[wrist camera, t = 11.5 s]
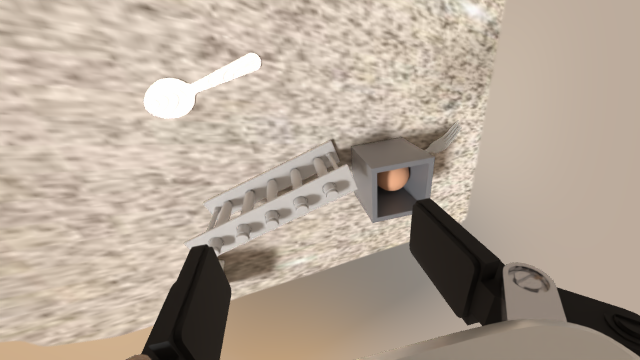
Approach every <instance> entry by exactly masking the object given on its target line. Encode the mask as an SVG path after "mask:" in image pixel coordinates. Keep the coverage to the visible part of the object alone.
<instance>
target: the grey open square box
mask: <svg viewBox="0 0 640 360" xmlns="http://www.w3.org/2000/svg"><path fill="white" fill-rule="evenodd" d="M351 153H352V170H353V179H354V181H355V184H356V186H357V188H358V189H357V190H355V191H354V193H355V195H356V197H357V198H358V200H359V202H360V203H361V205H362V206H363V208H364V210H365V211H366V213H367V215H368V216H369V218H370V219H371V221H372V223H374V222H379V221H384V220H388V219H393V218H398V217H403V216H407V215H412V208H413V205H414V204H415V203H416V201H417V200H421V199H426V198H430V194H431V186H432V177H433V169H434V161H435V157H434V156H432V155H431V154H429V153H427V152H426V151H424V150H422V149H421V148H419V147H417V146H416V145H414V144H412V143H410V142H409V141H407V140H405V139H404V138H402V137H401V138H395V139H390V140H384V141H378V142H373V143H367V144H361V145H356V146H351ZM406 167H408V169H409V178H408V181H407V183H406V184H405V185H404V186H403V187H402V188H400V189H398V190H395V191H387V190H384V189H382V188H381V187H379V186H378V185H377V173H380V172H385V171H390V170H395V169H401V168H406Z"/></svg>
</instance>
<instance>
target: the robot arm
mask: <svg viewBox="0 0 640 360" xmlns="http://www.w3.org/2000/svg"><path fill="white" fill-rule="evenodd" d="M410 251H411V253H412V254H413V256H414V257H415V259H416V260H417V261H418V263H419V264H420V266H421V267H422V268H423V270H424V271H425V273H426V274H427V275H428V277H429V278H430V279H431V281H432V282H433V284H434V285H435V286H436V288H437V289H438V291H439V292H440V293H441V295H442V296H443V297H444V299H445V300H446V302H447V303H448V305H449V306H450V307H451V309H452V310H453V311H454V313H455V314H456V315H457V316H458V317H459V318H462V319H463V320H464V321H465V323H466V324H467V325H471V324H474V323H478V322H480V324H481V325H482V326H481V327H477V328H473V329H469V330H465V331H461V332H456V333H453V334H449V335H446V336H441V337H438V338H434V339H430V340H427V341H422V342H419V343H415V344H411V345H407V346H404V347H400V348H396V349H392V350H389V351H385V352H382V353H378V354H374V355H370V356H367V357H363V358H360V359H356V360H640V316H639V315H638V314H636V313H633V312H631V311H628V310H626V309H623V308H620V307H617V306H614V305H610V304H607V303H604V302H601V301H598V300H595V299H592V298H589V297H585V296H582V295H579V294H576V293H573V292H570V291H567V290H563V289H560V288H557V287H556V285H555V283H554V281H553V280H552V279H551V278H550V277H549V276H548V275H547V274H546V273H544V272H543V271H541V270H539V269H538V268H535V267H534V266H531V265H528V264H524V263H509V264H506V265H504V264H503V263H502V262H501V261H500V259H499V258H498V257H496V256H495V255H494V254H493V253H492V252H491V251H490V250H488V249H487V248H486V247H485V246H484V245H483V244H482V243H480V242H479V241H478V240H477V239H476V238H475V237H474V236H472V235H471V234H470V233H469V232H468V231H467V230H466V229H464V228H463V227H462V226H461V225H460V224H459V223H458V222H457V221H455V220H454V219H453V218H452V217H451V216H450V215H449V214H447V213H446V212H445V211H444V210H443V209H442V208H441V207H439V206H438V205H437V204H436V203H435V202H434V201H433V200H431V199H430V198H426V199H421V200H417V201H416V203H415V204H414V205H413V208H412V220H411V233H410ZM230 299H231V287H230V285H229V282H228V280H227V278H226V276H225V273H224V271H223V269H222V267H221V264H220V262H219V260H218V258H217V255H216V253H215V251H214V249H213V247H209V246H208V245H207V244H204V245H199V246H194V247H192V248H191V249H190V252H189V254H188V256H187V258H186V261H185V263H184V265H183V268H182V270H181V272H180V274H179V277H178V279H177V281H176V282H175V283H174V284H173V285H172V287H171V289H170V291H169V293H168V296H167V298H166V300H165V302H164V304H163V307H162V309H161V311H160V313H159V316H158V318H157V320H156V322H155V324H154V327H153V329H152V331H151V333H150V335H149V338H148V340H147V342H146V344H145V347H144V349H143V351H142V353H141V354H140V355H134V356H132V357H130V358H128V359H126V360H220V354H221V349H222V343H223V337H224V332H225V327H226V321H227V315H228V309H229V304H230Z"/></svg>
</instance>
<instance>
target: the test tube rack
mask: <svg viewBox="0 0 640 360" xmlns="http://www.w3.org/2000/svg"><path fill="white" fill-rule="evenodd" d="M339 162H340V160H339V157H338V155H337V153H336V151H335V148H334V146H333V144H332V142H331V140H329V141H327V142H325V143H323V144H321V145H319V146H317V147H314V148H312V149H310V150H308V151H306V152H304V153H302V154H300V155H298V156H296V157H294V158H292V159H290V160H288V161H286V162H284V163H282V164H280V165H278V166H276V167H274V168H272V169H270V170H268V171H265V172H263V173H261V174H259V175H257V176H255V177H253V178H251V179H249V180H247V181H245V182H243V183H241V184H239V185H237V186H235V187H233V188H231V189H229V190H227V191H225V192H223V193H221V194H218V195H216V196H214V197H212V198H210V199H208V200H206V201H204V202H203V205H204V206H205V207H206V208H207V209H208V210H209V212H210V213H211V214H212V218H211V221H210V223H209V226H208V228H207V231H206V232H204V233H202V234H200V235H198V236H196V237H194V238H192V239H190V240H188V241H186V242H184V244H185V245H186V246H187V247H188V248H189V249H191V248H192V247H194V246H199V245H204V244H207V245H208V246H209V247H213V249H214V251H215V253H216V255H217V257H218V256H219V255H221V254H223V253H225V252H227V251H229V250H231V249H233V248H236V247H238V246H240V245H243V244H246V243H247V242H248V241H250V240H252V239H254V238H257V237H259V236H261V235H263V234H265V233H267V232H269V231H271V230H275V229H277V228H278V227H280V226H282V225H284V224H286V223H288V222H290V221H292V220H294V219H296V218H298V217H301V216H305V215H306V214H307V213H309V212H311V211H313V210H315V209H317V208H319V207H322V206H324V205H326V204H328V203H330V202H333V201H336V200H337V199H338V198H340V197H343V196H345V195H347V194H349V193H351V192H353V191H355V190H357V189H358V188H357V186H356V184H355V181H354V179H353V177H352V174H351V172H350V169H349V167H348V165H347V164H345V165H343V166H341V167H338V165H337V163H339ZM331 166H332V167H333V169H334V170H332V171H330V172H328V170H327V168H329V167H331ZM315 174H317V175H318V178H316V179H314V180H312V181H310V182H308V183H306V184H304V185H303V183H302V180H304V179H306V178H308V177H310V176H312V175H315ZM334 184H335V185H334ZM290 186H292V190H291V191H289V192H287V193H285V194H283V195H281V196H279V197H278V192H279V191H281V190H284V189H286V188H288V187H290ZM335 186H336V187H335ZM323 190H324V191H323ZM265 198H267V201H266V203H264V204H262V205H260V206H258V207H256V208H254V209H253V207H254V204H255V203H257V202H259V201H261V200H263V199H265ZM306 199H307V200H306ZM294 203H295V204H294ZM240 210H241V215H239V216H237V217H235V218H233V219H231V220H229V219H230V215H232V214H234V213H236V212H238V211H240ZM265 214H266V216H265ZM278 214H279V217H278ZM216 220H217V222H216ZM215 222H216V225H215ZM214 225H215V227H214ZM213 227H214V228H213ZM237 227H238V229H237ZM250 229H251V231H250ZM209 241H210V242H209ZM222 244H223V245H222Z"/></svg>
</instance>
